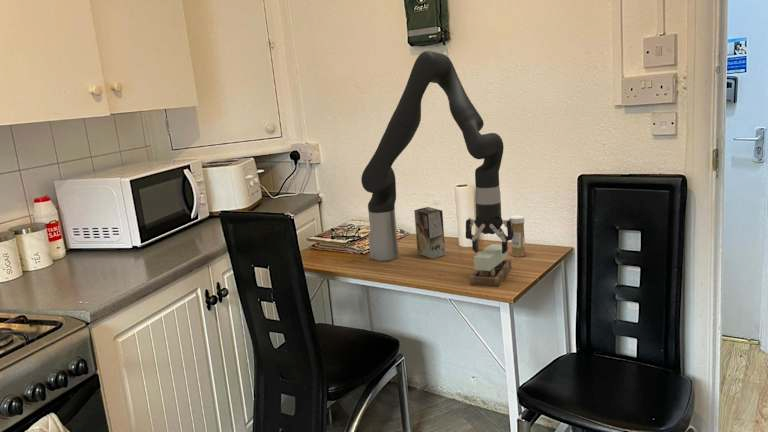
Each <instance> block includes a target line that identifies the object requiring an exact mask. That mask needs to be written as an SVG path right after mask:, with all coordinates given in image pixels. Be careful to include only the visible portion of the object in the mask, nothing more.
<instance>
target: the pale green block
mask: <svg viewBox="0 0 768 432" xmlns="http://www.w3.org/2000/svg"><path fill="white" fill-rule="evenodd" d="M507 258H508V251H507V252H506V253H505V254H502V244H496V243H495V244H494V243H491V244H490V245H488V246H486V247H485V248H483V250H481V251H480V252H477V253H476V254H475V255H474V256H473V270H474V271H475V270H483V271H484V272H490V271H491V270H492V269H493V268H494V267H496V266H497V265H498V264H499V263H501V262H502V261H503V260H507Z"/></svg>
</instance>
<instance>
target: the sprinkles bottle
mask: <svg viewBox="0 0 768 432" xmlns="http://www.w3.org/2000/svg"><path fill="white" fill-rule="evenodd" d="M509 218H510V219H512V223H513V234H514V237H513V239H512V240H510V241H511V255H512V256H513V257H517V258H521V257H524V256H526V247H525V246H526V241H525V240H526V239H525V216H524V215H517V214H515V215H511V216H510V217H509Z"/></svg>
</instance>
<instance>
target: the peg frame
mask: <svg viewBox="0 0 768 432" xmlns="http://www.w3.org/2000/svg"><path fill="white" fill-rule="evenodd" d="M495 268H497V271H498V273H497V274H496V269H495ZM511 269H512V260H511V259H505V260H503V261H502V262H501V263H499V264H498V265H497V266H496V267H494V268H493V269H492V270H491V271H489V272H490V276H485V271H483V270H474V271H473V273H472V274H471V275H470V276H469V285H470V286H481V287H482V286H483V287H498V288H499V287H500V285H502V284H501V283H503V281H504V280H505V277H506V276H507V275H508V273H509V272H510V270H511Z"/></svg>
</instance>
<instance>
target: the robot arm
mask: <svg viewBox="0 0 768 432" xmlns="http://www.w3.org/2000/svg"><path fill="white" fill-rule="evenodd" d="M430 83H434V84H437V85H438V86H439V87H440V88H441V89H442V90H443V91H444V93H445V95H446V98H447V101H448V104H449V110H450V115H451V116H452V119H453V120H454V121H455V122H456V124H457V126H458V128H459V129H460V131H461V132H462V136H463V139H464V143H465V146H466V149H467V151H468V154H469V155H470V156H471V157H472V158H474V159H475V160H483V162H482V164H481V165H480V166H477V168H475V169H474V170H475V172H474V178H475V179H474V181H475V182H474V183H475V188H474V189H475V191H474V202H475V219H473V218H472V217H471V218H470V217H469V218H468V219H466V220H465V238H466V239H467V240H471V244H472V251H474V253H476V254H478V253H479V239H478V237H479V236H480V235H481V233H482V234H483V235H488V234H489V235H496V236H497V237H498V238H499V239H500V240H501V245H502V254H505V253H506V252H507V253H508V250H509V244H508V243H509V242H508V241H511V240H512V239H513V237H514V234H513V223H512V219H507V220H505V219H503V218H502V202H501V201H502V200H501V187H500V168H501V165H502V160H503V154H504V148H505V147H504V142H503V139H502V137H501V136H500V135H499V134H498V133H495V132H489V133H485V134H481V132H480V131H481V130H483V127H484V125H485V124H484V120H483V118H482V116H481V115H480V113H479V112H478V111H477V109H476V107H475V106H474V104H473V103H472V101H471V100H470V98H469V96H468V94H467V93H466V91H465V88H464V87H463V84H462V81H461V80H460V77H459V76H458V73H457V71H456V68H455V67H454V64H453V62H452V60H451V59H450V57H449V56H448V55H446V54H444V53H440V52H435V51H430V50H426V51H422V52H421V53H420V54H419V55H418V57H417V58H416V59H415V61H414V64H413V66H412V68H411V71H410V73H409V77H408V80H407V82H406V85H405V88H404V90H403V91H402V94H401V97H400V99H399V100H398V102H397V103H398V104H397V105H396V108H395V110H394V111H393V113H392V114H391V115H392V116H391V118H390V120H389V122H388V123H387V125H386V126H387V127H386V129H385V131H384V132H383V135H382V136H381V139H380V141H379V143H378V146H377V148H376V149H375V151H374V154H373V155H372V157H371V158H370V160H369V162H368V163H367V165H366V167H365V168H364V170H363V171H362V174H361V179H360V180H361V185H362V187H363V189H364V190H365V191H366V192H368V193H369V194H371V198H370V199H369V202H368V203H367V211H368V221H369V232H367V236H368V247H369V248H368V249H369V258H371V259H370V260H374V259H375V260H374V261H377V260H378V262H386V261H387V262H388V261H393V260H396V259H398V258H399V245H398V232H397V220H396V209H395V208H396V206H395V205H396V201H397V187H396V186H397V184H396V183H397V182H396V175H395V171H394V169H393V168H392V166H393V165H394V163H395V161H396V160H397V158H398V157H399V156H400V155H401V154H402V152H403V151H404V150H405V149H406V148H407V147H408V145H409V144H410V143H411V141H412V140H413V138H414V137H415V135H416V132H417V131H418V129H419V127H420V123H421V119H422V100H423V97H424V95H425V92H426V90H427V89H428V87H429V85H430ZM474 225H475V226H476V227H477V230H476V232H474V234H472V229H473V228H472V227H473V226H474ZM503 225H504V227H505V228H506V231H507V232H506V233H507V235H506V233H505V231H504V230H503V229H502V226H503Z"/></svg>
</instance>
